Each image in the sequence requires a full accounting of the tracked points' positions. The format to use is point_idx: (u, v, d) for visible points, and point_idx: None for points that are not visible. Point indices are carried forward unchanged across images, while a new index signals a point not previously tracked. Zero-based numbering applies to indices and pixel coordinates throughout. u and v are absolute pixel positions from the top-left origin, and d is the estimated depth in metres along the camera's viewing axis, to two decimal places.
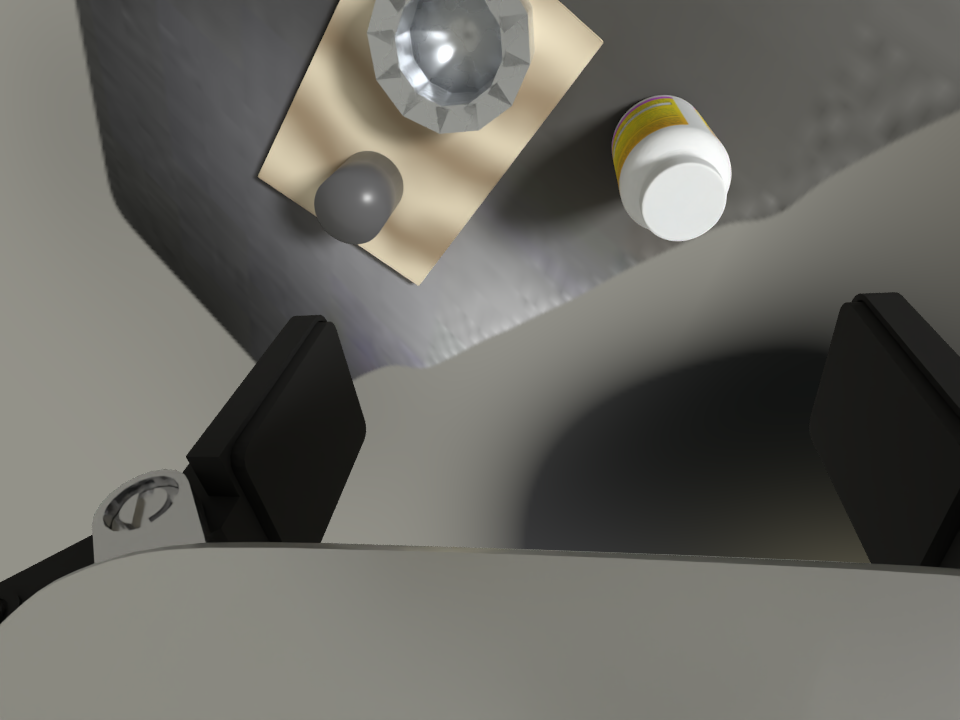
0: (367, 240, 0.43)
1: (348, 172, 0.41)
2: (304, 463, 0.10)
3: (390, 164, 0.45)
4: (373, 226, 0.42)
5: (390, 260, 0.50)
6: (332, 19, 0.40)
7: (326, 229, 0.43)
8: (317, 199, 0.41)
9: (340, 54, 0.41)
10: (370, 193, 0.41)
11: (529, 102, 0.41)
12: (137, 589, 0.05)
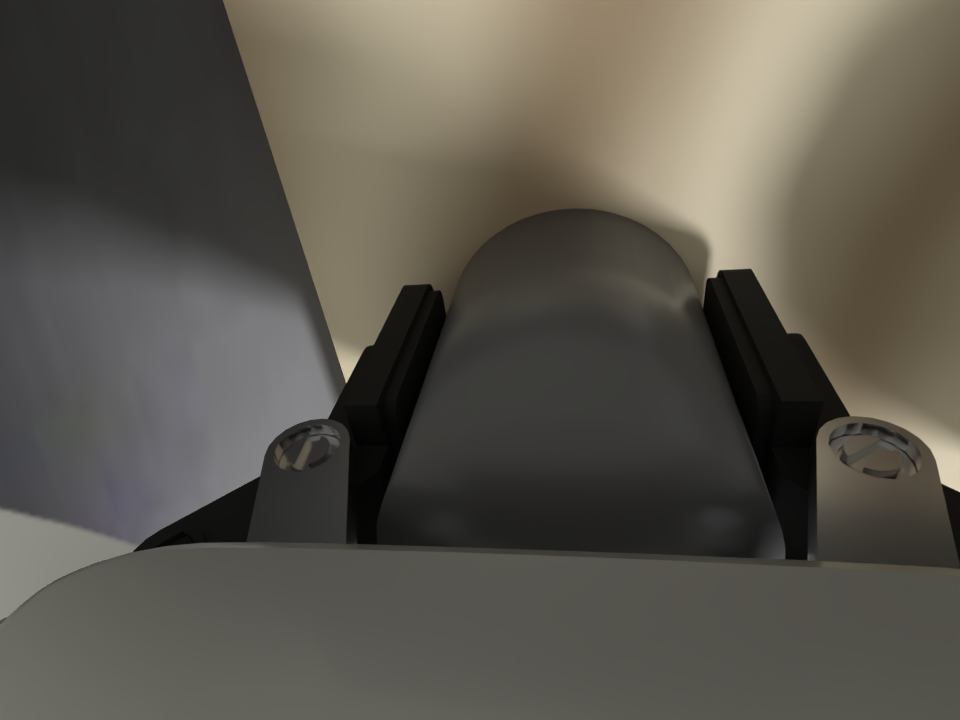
0: None
1: (749, 454, 0.07)
2: None
3: None
4: None
5: None
6: None
7: (386, 526, 0.08)
8: (500, 439, 0.06)
9: None
10: None
11: None
12: (138, 589, 0.05)
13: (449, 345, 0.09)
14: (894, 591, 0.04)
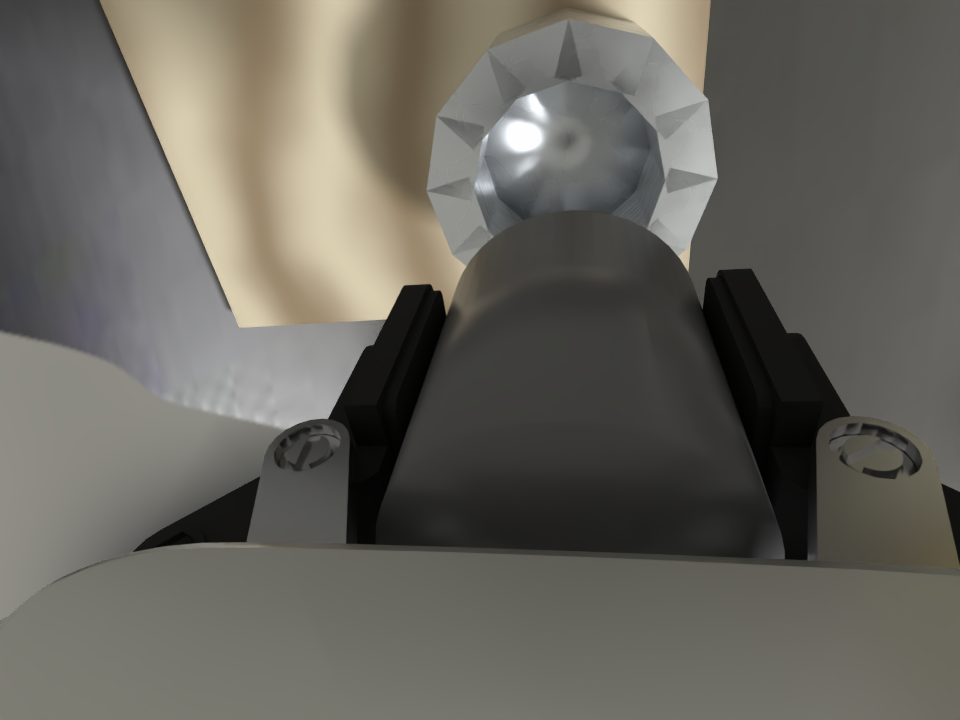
0: None
1: (749, 458, 0.07)
2: None
3: None
4: None
5: (226, 273, 0.30)
6: None
7: (385, 529, 0.08)
8: (499, 442, 0.06)
9: None
10: None
11: None
12: (138, 589, 0.05)
13: (448, 347, 0.09)
14: (894, 591, 0.04)
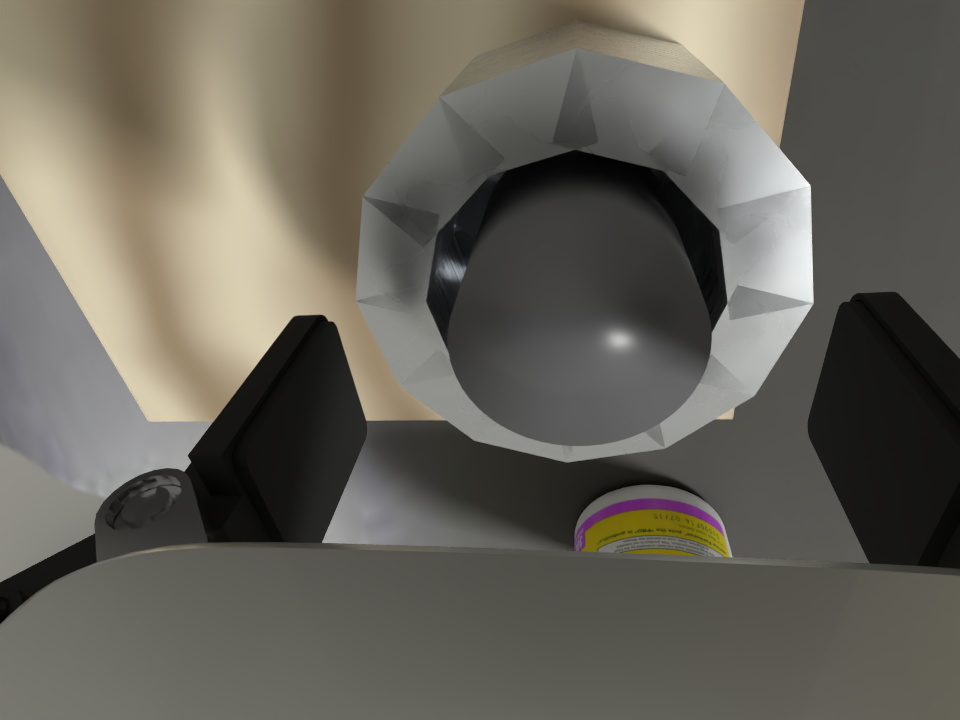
0: (526, 433, 0.13)
1: (688, 267, 0.11)
2: (306, 462, 0.10)
3: None
4: (583, 428, 0.13)
5: (123, 359, 0.23)
6: None
7: (454, 326, 0.12)
8: (533, 249, 0.10)
9: None
10: (685, 374, 0.11)
11: None
12: (138, 589, 0.05)
13: (491, 220, 0.13)
14: (894, 591, 0.04)
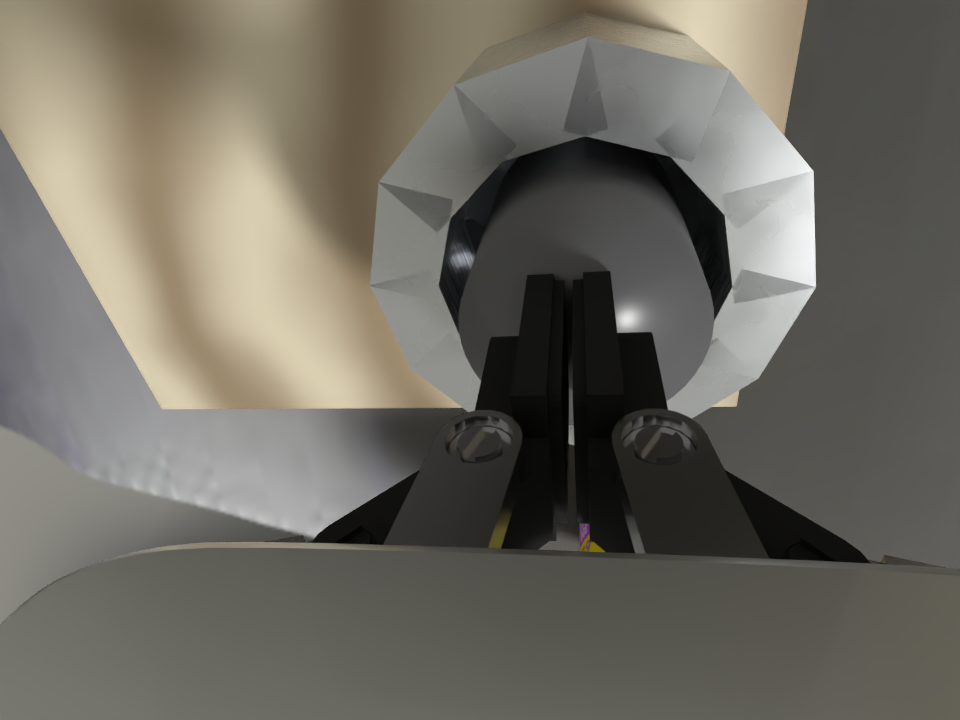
0: None
1: (693, 251, 0.11)
2: (565, 414, 0.10)
3: None
4: None
5: (138, 347, 0.23)
6: None
7: (465, 306, 0.12)
8: (542, 231, 0.11)
9: None
10: (688, 356, 0.12)
11: None
12: (137, 589, 0.05)
13: (502, 206, 0.13)
14: (894, 591, 0.04)
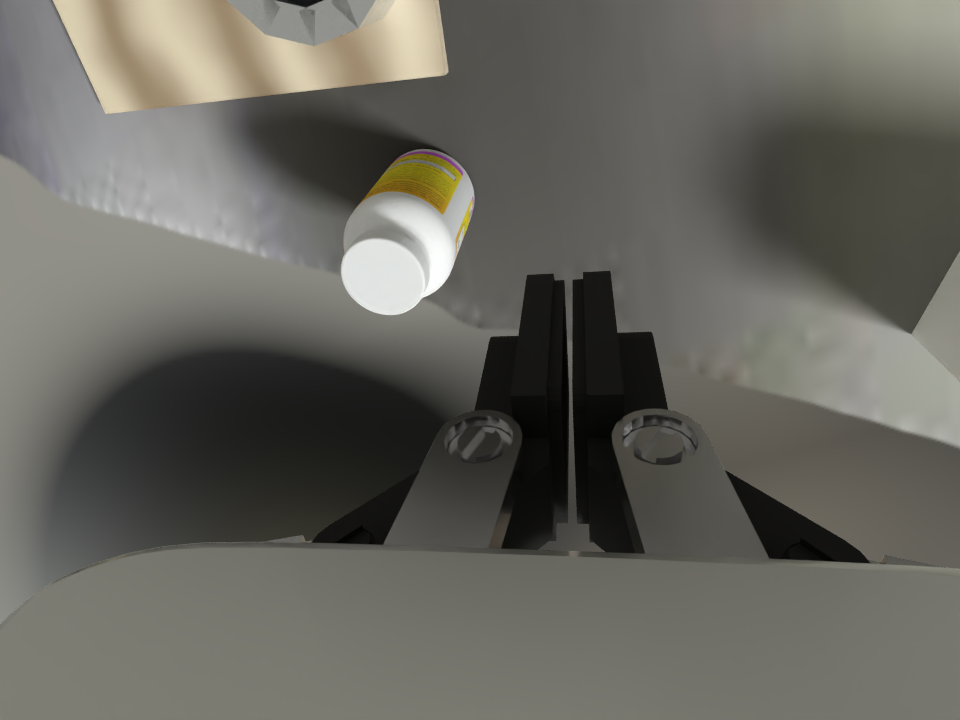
0: None
1: None
2: (564, 413, 0.10)
3: None
4: None
5: (87, 59, 0.37)
6: None
7: None
8: None
9: None
10: None
11: (347, 56, 0.35)
12: (138, 591, 0.05)
13: None
14: (894, 591, 0.04)
